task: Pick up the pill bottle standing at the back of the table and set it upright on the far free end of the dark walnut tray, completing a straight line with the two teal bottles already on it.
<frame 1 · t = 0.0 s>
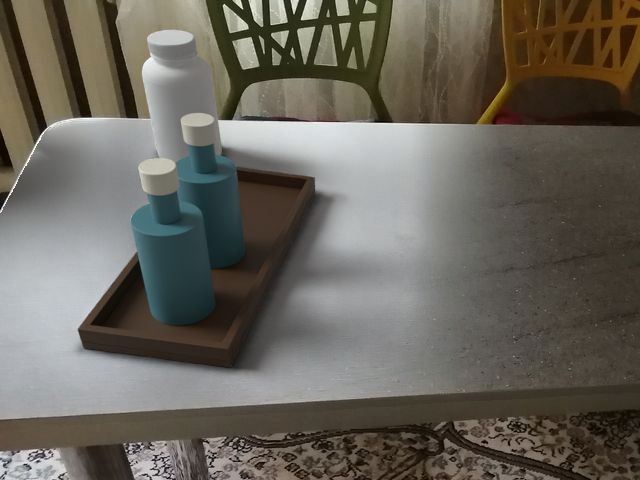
pill bottle: (190, 156, 97), on the table
bottle b: (183, 306, 73), point 1 cm above the table, touching tray
tray: (217, 259, 80), on the table
bottle a: (216, 252, 80), point 1 cm above the table, touching tray
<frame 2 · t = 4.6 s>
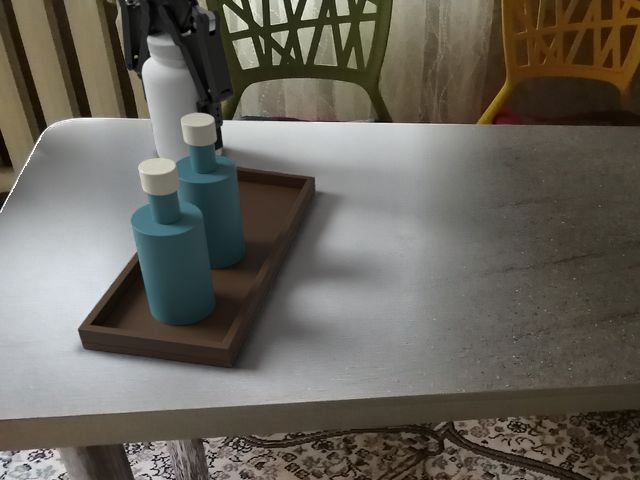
hand: (187, 139, 95), 2 cm above the table, tool pointing down, fingers closed on pill bottle, 8 cm apart
pill bottle: (190, 156, 97), on the table, touching gripper
everything else where it was.
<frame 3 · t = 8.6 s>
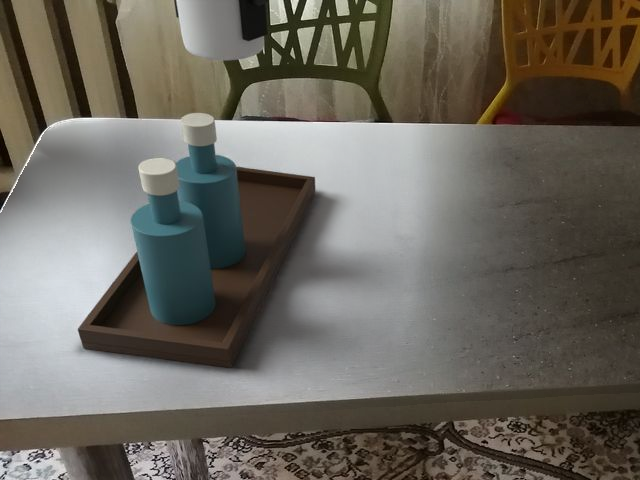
hand: (221, 25, 74), 21 cm above the table, tool pointing down, fingers closed on pill bottle, 8 cm apart
pill bottle: (224, 50, 76), point 19 cm above the table, touching gripper
everything else where it was.
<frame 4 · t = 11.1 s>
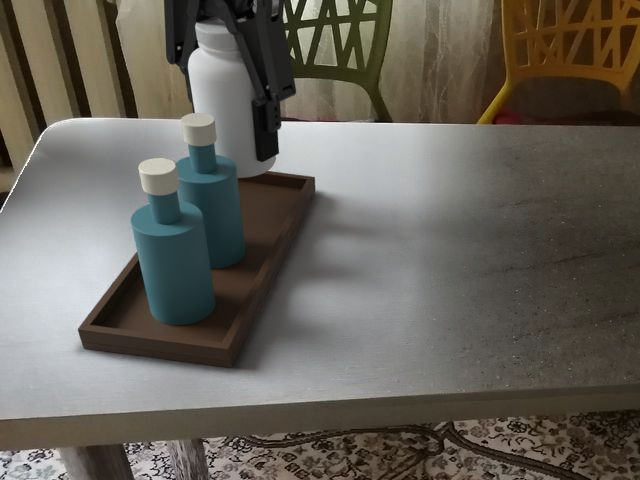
hand: (237, 144, 82), 9 cm above the table, tool pointing down, fingers closed on pill bottle, 8 cm apart
pill bottle: (240, 164, 83), point 6 cm above the table, touching gripper
everything else where it was.
when the fingers open (3 cm above the table, at t = 12.9 s): pill bottle stays where it is, resting on tray.
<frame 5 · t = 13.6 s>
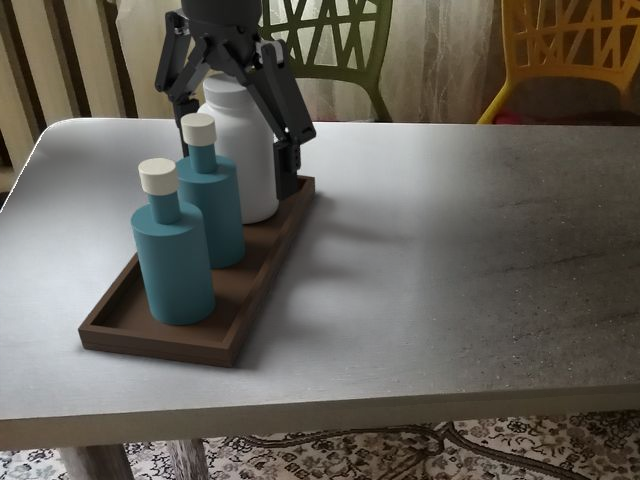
hand: (240, 176, 84), 5 cm above the table, tool pointing down, fingers open, 13 cm apart
pill bottle: (244, 209, 87), point 1 cm above the table, touching tray
everything else where it was.
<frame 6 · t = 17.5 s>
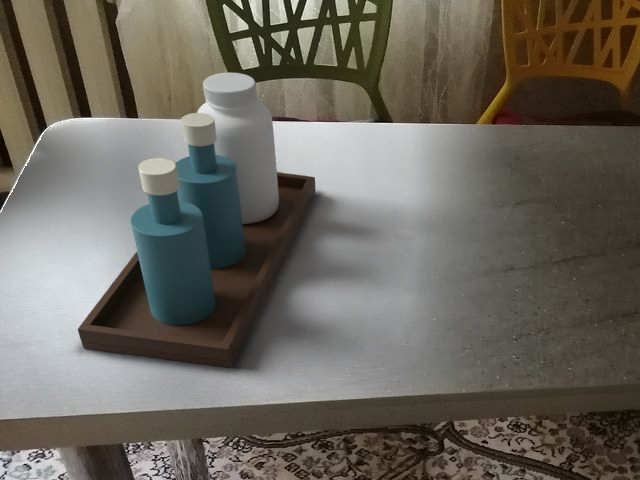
nothing on the table moved.
at the end: pill bottle 0.0 cm from the target spot in the tray, point 0.6 cm above the tray's base; pill bottle tilted 0°; bottle b moved 0.0 cm from its start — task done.
